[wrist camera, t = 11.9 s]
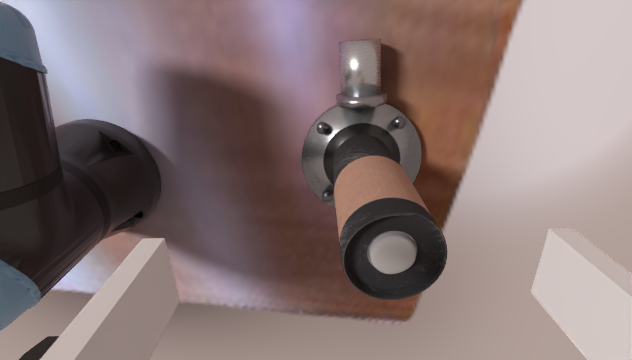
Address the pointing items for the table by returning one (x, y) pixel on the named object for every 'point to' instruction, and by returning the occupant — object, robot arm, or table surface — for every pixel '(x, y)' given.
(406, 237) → the travel mug
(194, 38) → the table surface
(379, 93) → the fitting
